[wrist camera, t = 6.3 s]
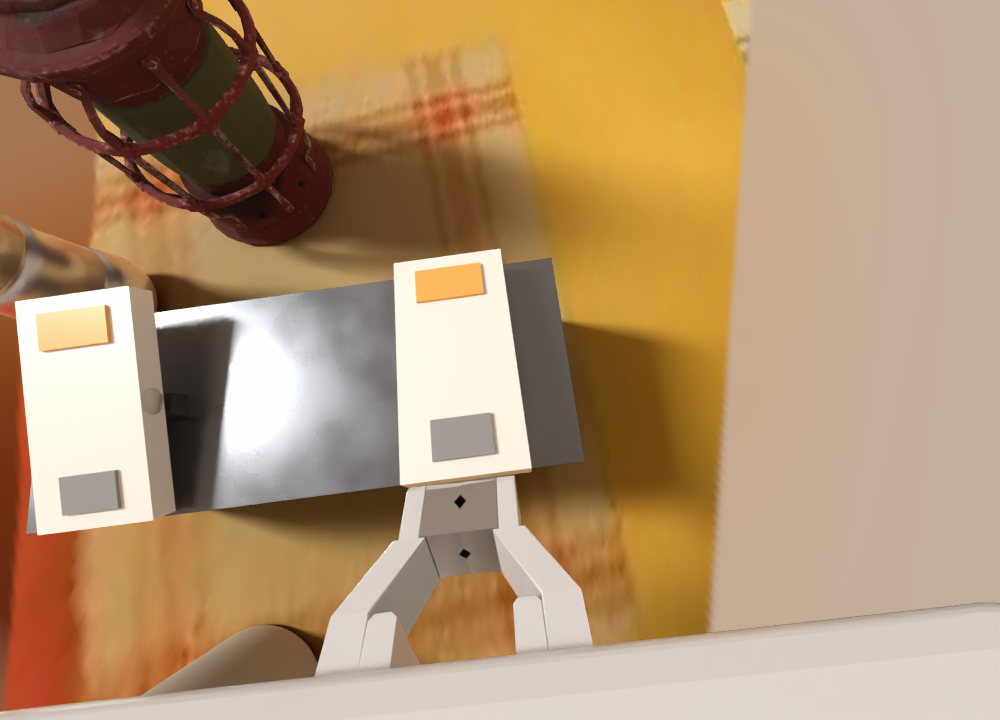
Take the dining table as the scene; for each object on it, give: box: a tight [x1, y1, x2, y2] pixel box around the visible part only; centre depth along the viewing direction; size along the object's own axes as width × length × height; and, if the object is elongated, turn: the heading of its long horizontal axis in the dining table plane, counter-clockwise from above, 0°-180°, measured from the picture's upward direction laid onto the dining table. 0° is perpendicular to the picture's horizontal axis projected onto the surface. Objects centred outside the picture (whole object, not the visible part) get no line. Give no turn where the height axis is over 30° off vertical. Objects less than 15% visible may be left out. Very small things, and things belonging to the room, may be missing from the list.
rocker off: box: [15, 286, 176, 535], centre depth 19 cm, size 10×5×1 cm, turn 7°
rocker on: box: [394, 249, 532, 488], centre depth 18 cm, size 10×5×1 cm, turn 7°
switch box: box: [26, 258, 585, 534], centre depth 25 cm, size 10×26×11 cm, turn 97°
